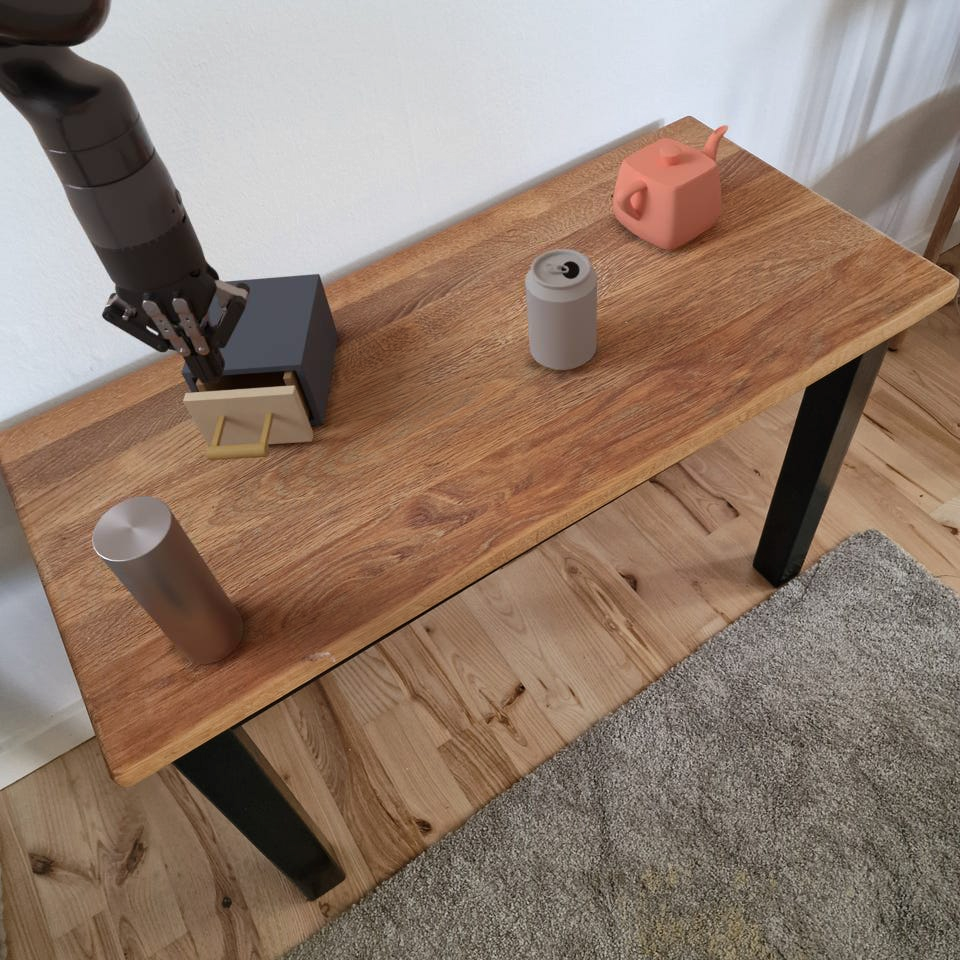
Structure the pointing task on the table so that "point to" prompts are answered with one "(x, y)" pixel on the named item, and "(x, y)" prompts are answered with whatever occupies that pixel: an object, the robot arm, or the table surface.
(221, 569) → the table surface
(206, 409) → the drawer
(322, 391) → the cabinet
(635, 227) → the teapot
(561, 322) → the can
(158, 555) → the cylinder
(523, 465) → the table surface
